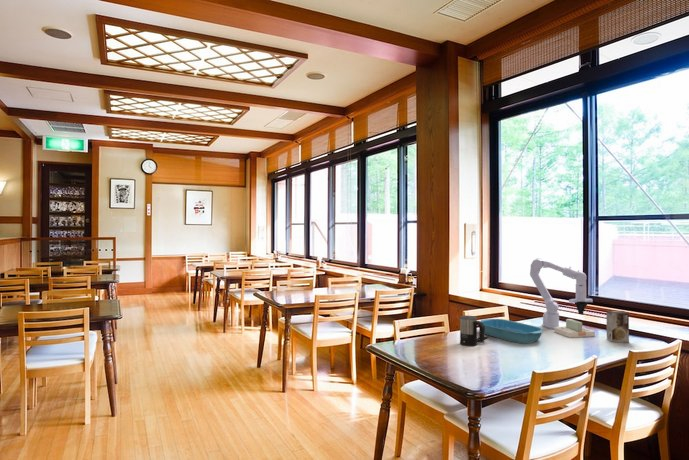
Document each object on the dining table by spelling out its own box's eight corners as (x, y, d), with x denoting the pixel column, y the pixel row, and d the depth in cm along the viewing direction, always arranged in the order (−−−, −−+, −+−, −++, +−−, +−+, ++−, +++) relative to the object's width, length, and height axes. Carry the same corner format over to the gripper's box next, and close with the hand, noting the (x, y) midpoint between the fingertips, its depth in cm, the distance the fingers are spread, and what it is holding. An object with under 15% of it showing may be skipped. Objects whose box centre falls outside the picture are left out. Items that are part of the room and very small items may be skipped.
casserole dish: (551, 341, 241) (551, 328, 240) (527, 347, 228) (528, 334, 228) (494, 328, 271) (494, 316, 271) (471, 333, 258) (471, 321, 258)
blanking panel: (566, 330, 259) (566, 319, 259) (570, 330, 260) (570, 318, 260) (577, 334, 250) (577, 322, 249) (582, 334, 250) (582, 322, 250)
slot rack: (553, 331, 260) (553, 326, 260) (578, 330, 263) (578, 325, 263) (569, 337, 247) (569, 332, 246) (595, 336, 249) (595, 331, 249)
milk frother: (457, 345, 232) (457, 317, 232) (464, 338, 246) (464, 312, 246) (484, 348, 226) (484, 320, 225) (490, 341, 240) (490, 314, 239)
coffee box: (622, 339, 243) (623, 310, 243) (629, 342, 237) (629, 313, 236) (605, 338, 244) (606, 310, 244) (611, 341, 238) (612, 312, 237)
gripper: (574, 293, 258) (574, 315, 258) (596, 292, 260) (596, 315, 260) (566, 291, 265) (566, 313, 265) (587, 290, 267) (587, 312, 267)
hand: (580, 314), depth 263 cm, fingers closed
